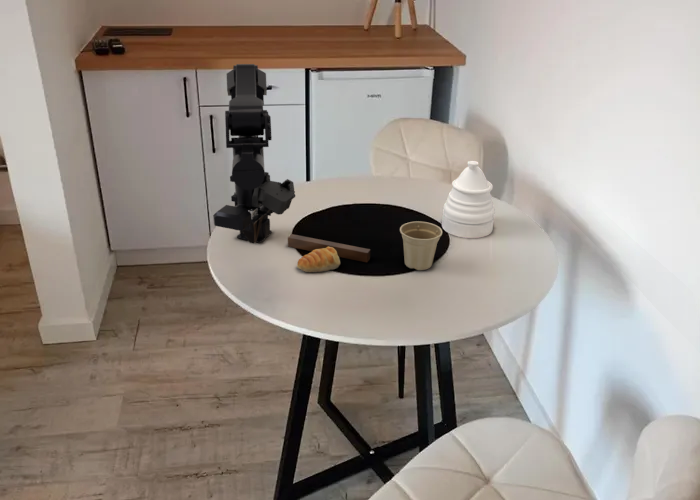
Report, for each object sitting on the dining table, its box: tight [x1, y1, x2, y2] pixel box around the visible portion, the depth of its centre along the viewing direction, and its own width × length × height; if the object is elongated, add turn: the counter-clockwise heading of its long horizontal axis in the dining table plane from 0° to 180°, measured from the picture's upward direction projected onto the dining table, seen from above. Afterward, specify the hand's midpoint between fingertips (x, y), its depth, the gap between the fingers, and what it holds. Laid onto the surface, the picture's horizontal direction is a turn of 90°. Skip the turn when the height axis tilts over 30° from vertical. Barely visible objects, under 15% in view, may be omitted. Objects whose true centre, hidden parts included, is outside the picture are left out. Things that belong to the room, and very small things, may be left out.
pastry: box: [296, 246, 341, 273], centre depth 152 cm, size 9×7×4 cm
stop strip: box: [287, 233, 371, 263], centre depth 158 cm, size 20×2×2 cm, turn 69°
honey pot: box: [441, 160, 496, 239], centre depth 169 cm, size 13×13×18 cm
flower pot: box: [399, 220, 443, 271], centre depth 153 cm, size 9×9×9 cm
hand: (252, 242), depth 137 cm, fingers closed
